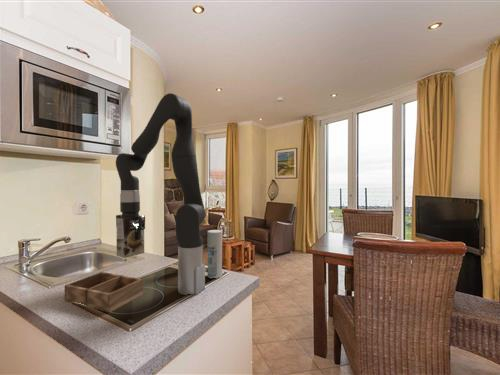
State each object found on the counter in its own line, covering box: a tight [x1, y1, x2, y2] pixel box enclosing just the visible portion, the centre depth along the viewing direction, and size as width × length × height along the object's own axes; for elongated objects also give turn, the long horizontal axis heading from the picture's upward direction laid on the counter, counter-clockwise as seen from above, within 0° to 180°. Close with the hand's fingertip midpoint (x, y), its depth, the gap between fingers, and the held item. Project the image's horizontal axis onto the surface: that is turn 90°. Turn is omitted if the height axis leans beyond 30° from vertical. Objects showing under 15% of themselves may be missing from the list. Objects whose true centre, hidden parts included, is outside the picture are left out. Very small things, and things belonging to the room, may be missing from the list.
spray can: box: [207, 229, 223, 279], centre depth 108 cm, size 6×6×20 cm
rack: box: [64, 271, 144, 313], centre depth 87 cm, size 21×14×6 cm, turn 70°
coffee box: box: [116, 217, 145, 259], centre depth 103 cm, size 9×6×16 cm
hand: (130, 239), depth 103 cm, fingers closed on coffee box, 7 cm apart
